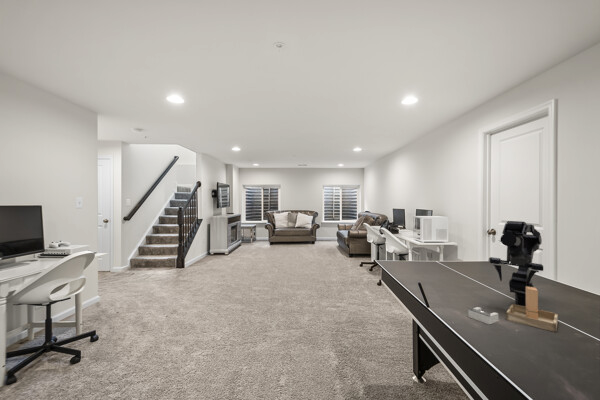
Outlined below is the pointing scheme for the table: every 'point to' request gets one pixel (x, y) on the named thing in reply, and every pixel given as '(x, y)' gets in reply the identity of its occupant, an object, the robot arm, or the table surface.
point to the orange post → (531, 302)
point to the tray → (544, 318)
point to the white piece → (483, 315)
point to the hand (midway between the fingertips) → (513, 283)
